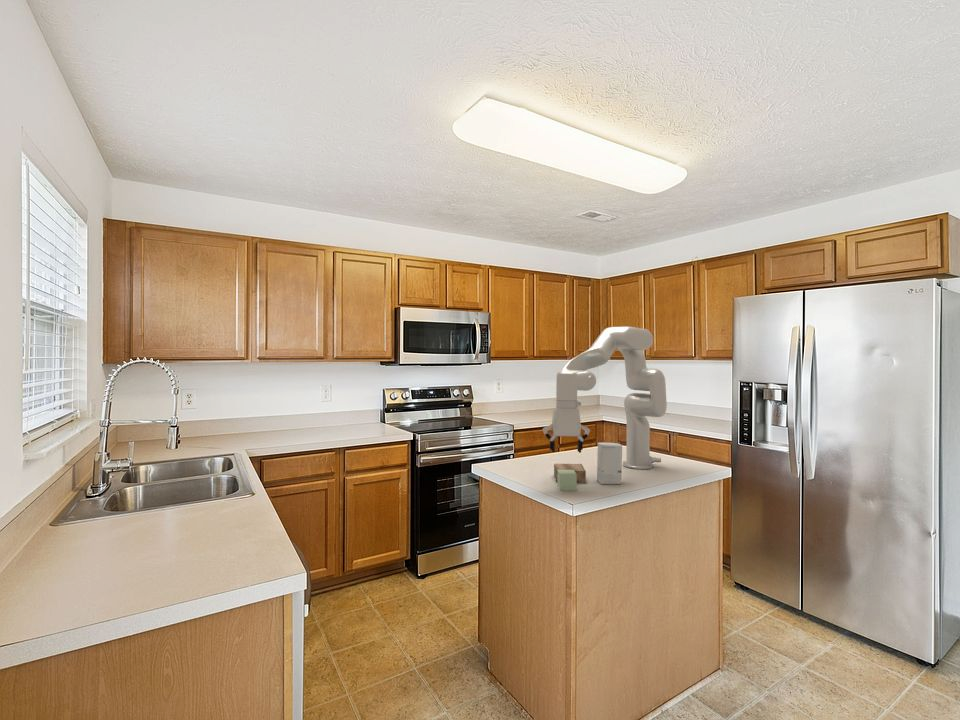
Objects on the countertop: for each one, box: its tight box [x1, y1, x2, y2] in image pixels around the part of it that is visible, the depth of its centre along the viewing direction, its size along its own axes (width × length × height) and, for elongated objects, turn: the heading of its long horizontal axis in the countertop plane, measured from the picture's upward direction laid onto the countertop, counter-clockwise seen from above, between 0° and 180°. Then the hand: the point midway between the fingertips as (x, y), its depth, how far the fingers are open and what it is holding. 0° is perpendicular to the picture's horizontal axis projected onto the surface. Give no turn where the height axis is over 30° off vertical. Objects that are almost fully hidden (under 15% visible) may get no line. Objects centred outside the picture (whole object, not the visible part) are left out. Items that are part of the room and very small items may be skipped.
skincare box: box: [596, 442, 623, 485], centre depth 183 cm, size 8×6×15 cm
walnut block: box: [553, 463, 587, 484], centre depth 188 cm, size 11×11×5 cm
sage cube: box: [556, 470, 578, 491], centre depth 176 cm, size 6×6×6 cm
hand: (566, 451), depth 176 cm, fingers open, 9 cm apart
